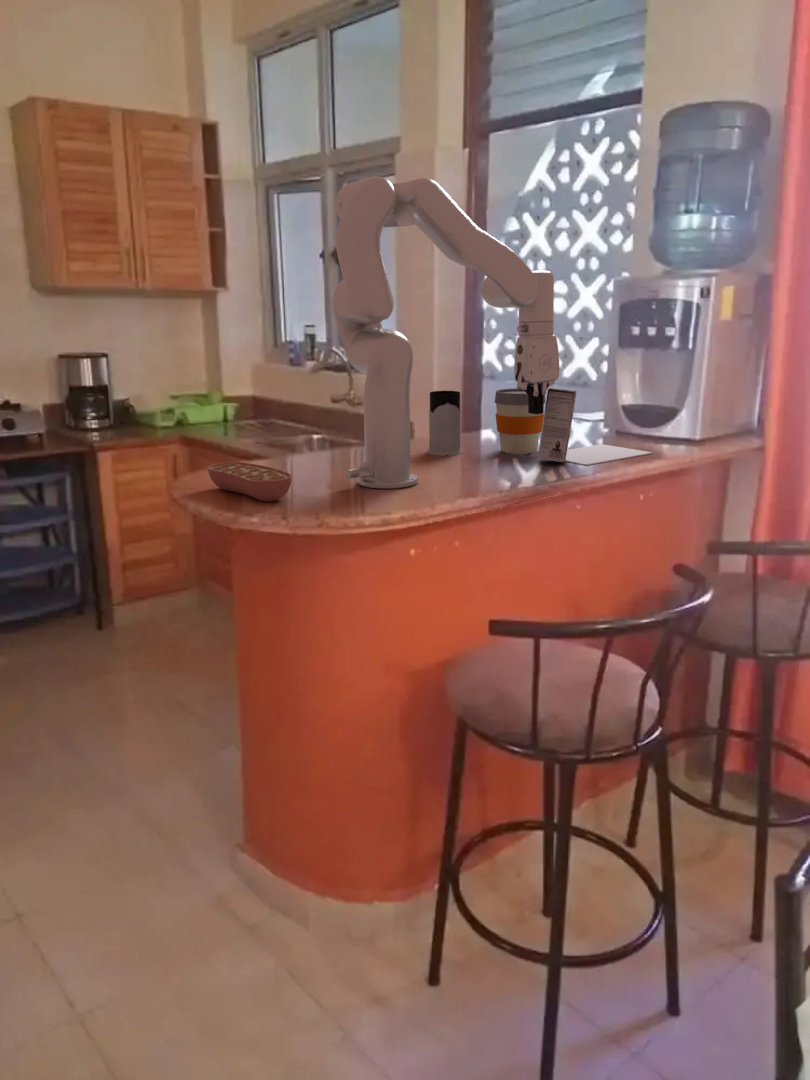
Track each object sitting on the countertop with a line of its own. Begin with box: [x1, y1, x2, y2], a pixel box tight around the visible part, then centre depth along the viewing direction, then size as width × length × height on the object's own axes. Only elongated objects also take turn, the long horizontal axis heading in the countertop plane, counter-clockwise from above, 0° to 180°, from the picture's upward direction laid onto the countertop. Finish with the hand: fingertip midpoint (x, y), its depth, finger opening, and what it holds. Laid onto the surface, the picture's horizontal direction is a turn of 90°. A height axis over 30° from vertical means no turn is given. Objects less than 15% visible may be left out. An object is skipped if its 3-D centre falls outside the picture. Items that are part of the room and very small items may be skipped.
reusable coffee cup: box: [494, 388, 546, 455], centre depth 218 cm, size 13×12×15 cm
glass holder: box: [427, 390, 463, 457], centre depth 220 cm, size 9×14×15 cm, turn 7°
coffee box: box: [537, 387, 577, 463], centre depth 201 cm, size 9×6×16 cm
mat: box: [535, 443, 653, 466], centre depth 213 cm, size 24×16×1 cm, turn 127°
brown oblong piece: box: [207, 461, 293, 503], centre depth 175 cm, size 23×10×5 cm, turn 42°
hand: (535, 413), depth 196 cm, fingers closed
